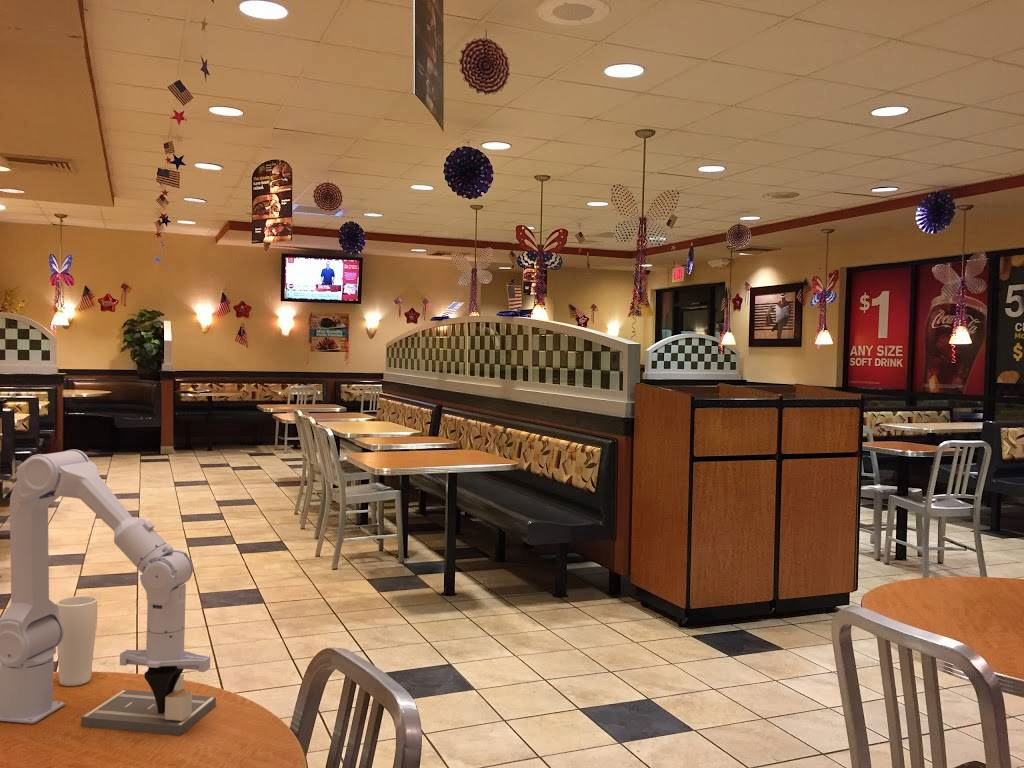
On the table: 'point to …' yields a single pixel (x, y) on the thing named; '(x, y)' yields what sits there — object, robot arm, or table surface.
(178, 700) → the fader
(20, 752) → the table surface
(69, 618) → the drinking glass
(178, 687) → the fader
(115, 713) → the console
